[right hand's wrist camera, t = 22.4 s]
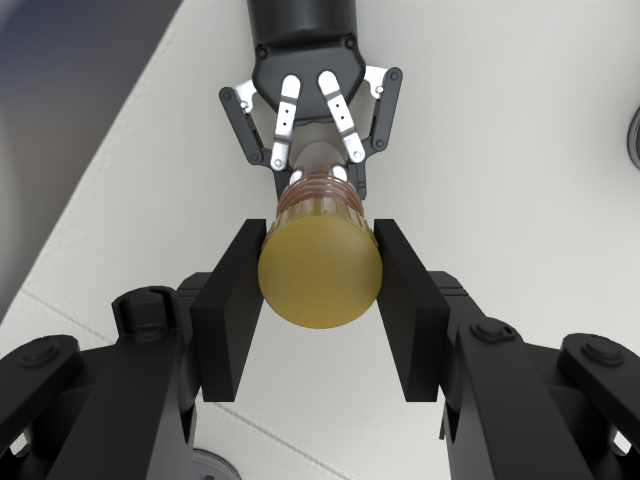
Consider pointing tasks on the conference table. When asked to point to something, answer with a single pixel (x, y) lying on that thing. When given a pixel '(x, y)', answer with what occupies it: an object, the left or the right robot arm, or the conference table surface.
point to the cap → (320, 264)
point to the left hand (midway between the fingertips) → (322, 207)
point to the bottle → (320, 179)
